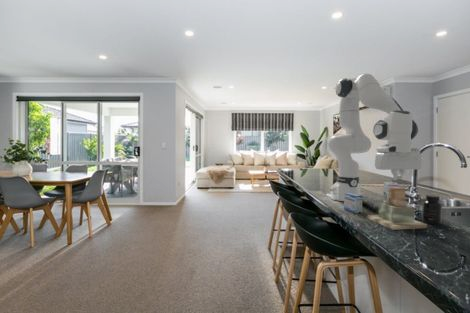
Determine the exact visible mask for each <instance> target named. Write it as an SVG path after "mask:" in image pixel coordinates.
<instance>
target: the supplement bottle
mask: <svg viewBox="0 0 470 313" xmlns="http://www.w3.org/2000/svg"><path fill="white" fill-rule="evenodd" d="M442 213H443V204H442V203H441V202H440V196H439V195H437V194H426V195H425V200H424V201H423V202H422V218H421V219H422V223H425V224H427V225H437V224H438V225H441V224H442V219H443V218H442V217H443V216H442V215H443V214H442Z"/></svg>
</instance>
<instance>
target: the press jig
mask: <svg viewBox="0 0 470 313" xmlns="http://www.w3.org/2000/svg"><path fill="white" fill-rule="evenodd" d="M415 212H416V207H415V206H412V205H409V204H406V203H405V207H394V206H391V205H388V202H385V203H383V202H378V213H377V214H367V216H366V217H367V219H368V220H369V221H370V220H371V221H372V222H375V223H377V224H378V225H381V226H383V227H386V228H388V229H390V230H391V231H392V230H393V231H395V230H396V231H397V230H412V229H415V230H417V229H428V223H425V222H423V221H418V220H416V219H415V215H416V214H415Z"/></svg>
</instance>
